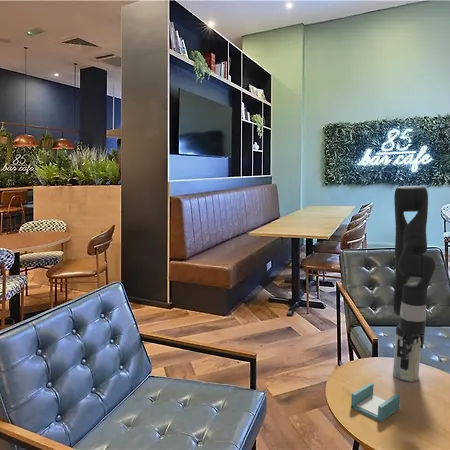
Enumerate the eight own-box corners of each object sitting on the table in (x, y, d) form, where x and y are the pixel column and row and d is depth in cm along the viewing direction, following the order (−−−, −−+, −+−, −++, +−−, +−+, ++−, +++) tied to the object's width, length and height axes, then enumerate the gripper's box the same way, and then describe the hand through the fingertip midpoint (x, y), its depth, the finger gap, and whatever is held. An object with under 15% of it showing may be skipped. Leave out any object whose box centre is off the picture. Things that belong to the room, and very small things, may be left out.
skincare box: (414, 382, 132) (416, 345, 130) (399, 378, 134) (401, 342, 132) (418, 374, 137) (420, 339, 135) (403, 370, 139) (405, 335, 137)
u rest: (369, 395, 150) (370, 382, 149) (399, 408, 142) (400, 395, 141) (350, 407, 142) (351, 393, 141) (381, 422, 134) (381, 407, 133)
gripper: (411, 308, 140) (408, 355, 142) (390, 318, 131) (387, 368, 133) (434, 314, 134) (430, 362, 137) (414, 325, 125) (410, 377, 127)
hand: (409, 365), depth 135 cm, fingers closed on skincare box, 7 cm apart
